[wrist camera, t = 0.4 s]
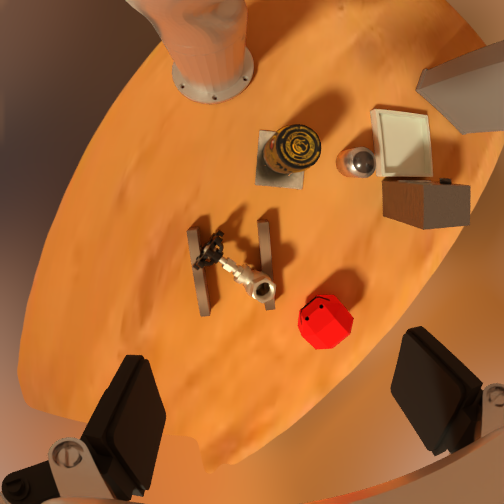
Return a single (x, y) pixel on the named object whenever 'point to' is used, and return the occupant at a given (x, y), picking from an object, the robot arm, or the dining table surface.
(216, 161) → the dining table surface
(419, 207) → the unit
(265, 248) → the valve rest
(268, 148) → the condiment
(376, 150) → the tray
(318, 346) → the ball
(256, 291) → the valve
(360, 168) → the cylinder
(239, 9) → the robot arm
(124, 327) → the dining table surface
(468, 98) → the cassette tape recorder
